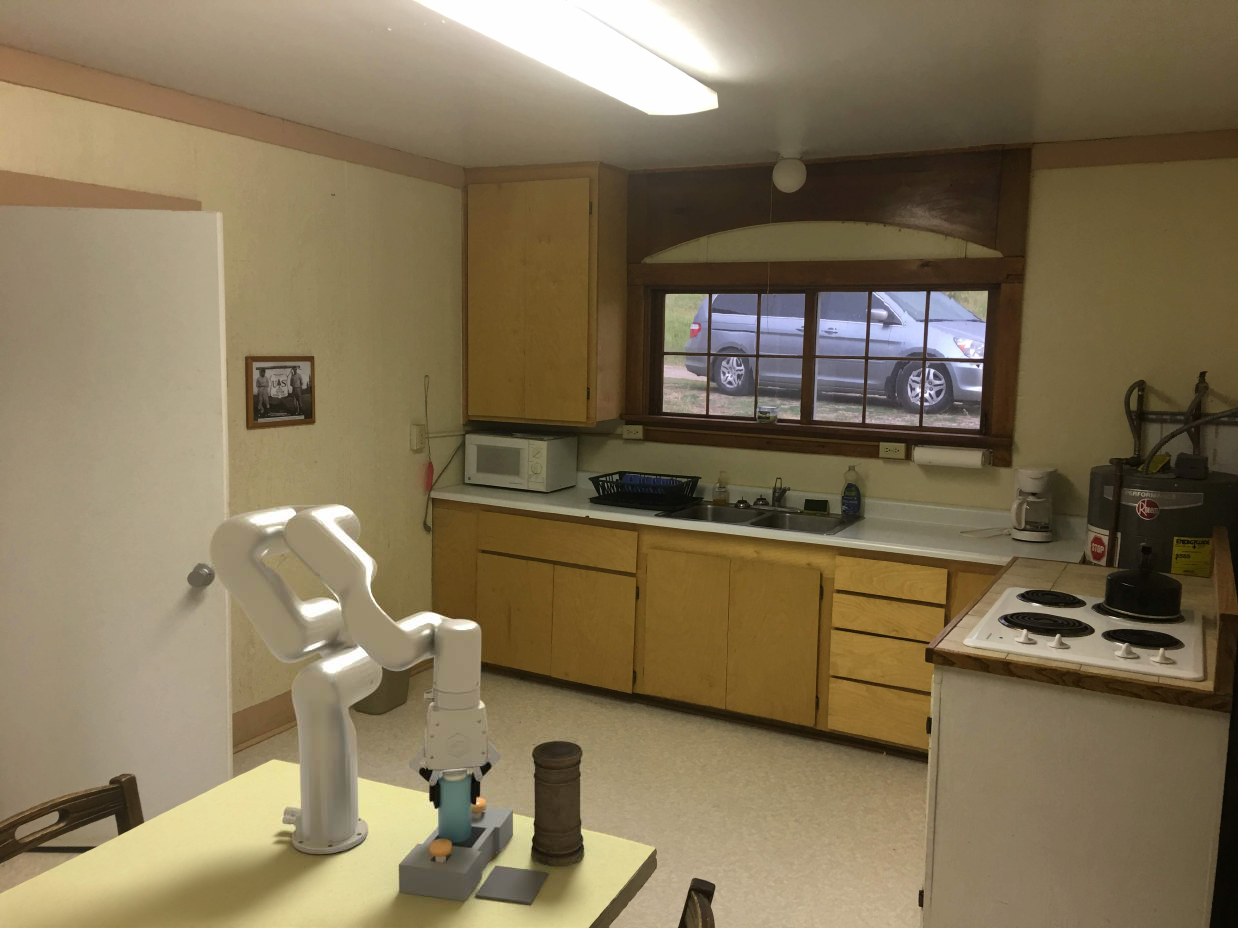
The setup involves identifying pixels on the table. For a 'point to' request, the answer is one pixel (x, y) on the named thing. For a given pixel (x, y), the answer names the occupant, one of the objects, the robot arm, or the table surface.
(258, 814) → the table surface
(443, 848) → the plunger
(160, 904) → the table surface
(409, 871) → the housing
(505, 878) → the mat
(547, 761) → the container
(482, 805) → the orange mushroom peg
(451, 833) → the cartridge
